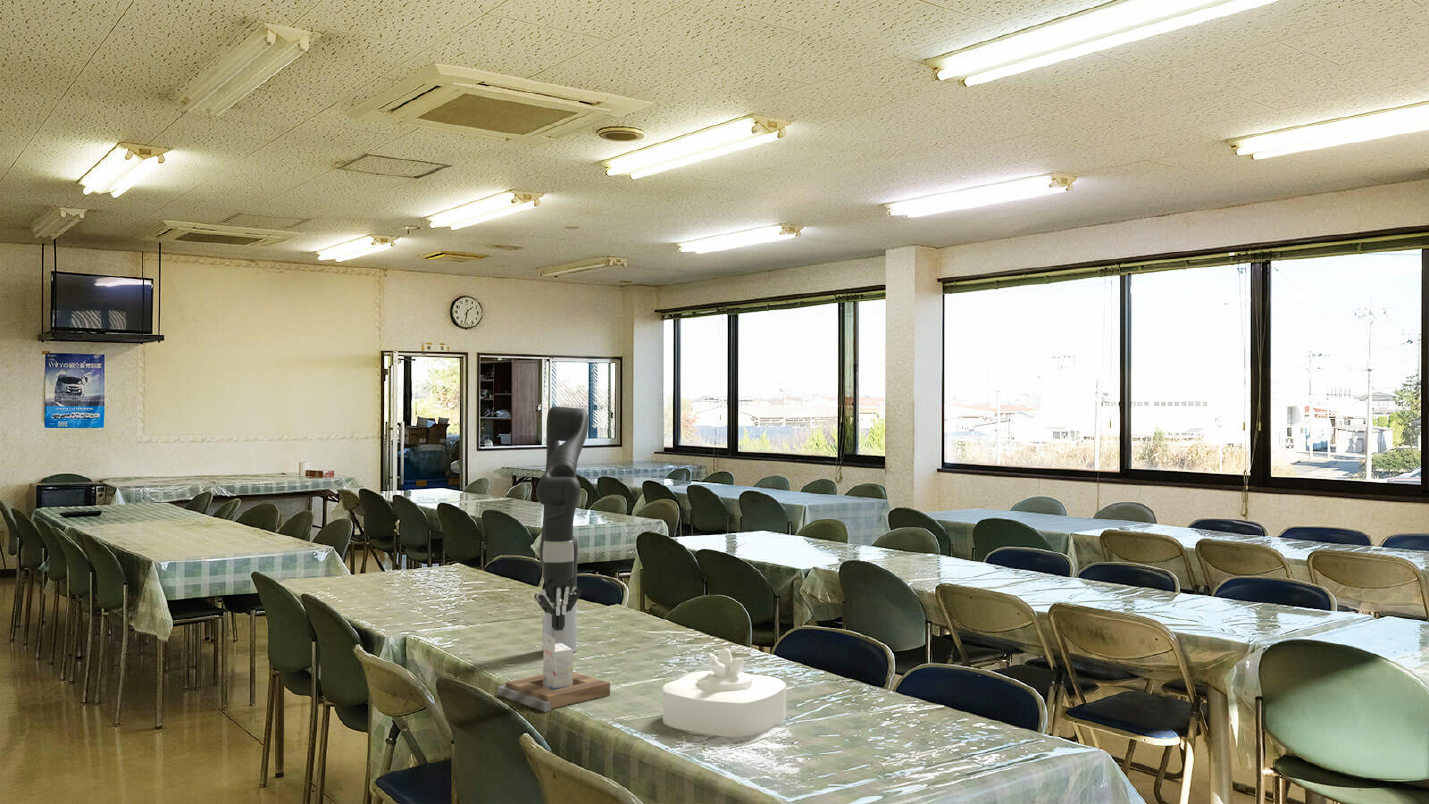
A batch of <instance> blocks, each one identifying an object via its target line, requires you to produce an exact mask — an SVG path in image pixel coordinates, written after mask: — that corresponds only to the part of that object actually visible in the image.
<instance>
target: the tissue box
mask: <svg viewBox="0 0 1429 804" xmlns="http://www.w3.org/2000/svg"><path fill="white" fill-rule="evenodd" d="M706 657H707V658H706V659H707V663H708V666H709V667H710V669H711V670H704V671H703V670H702V671H695V672H690V673H688V674H686V675H684V676H681V677H680V678H678V679H676V680H673V681H669V682H667V683H665V684H664V685H663V686H662V723H663V724H665V726H668V727H670V728H674V729H676V730H682V731H687V732H694V733H698V734H706V735H711V736H718V737H728V738H729V737H735V738H736V737H737V738H738V737H750V736H754V735H759V734H762V733H765V732H766V731H768V730H770V729H772V728H773V727H775V726H777V725H779V724H780V723H783V721H785V720H786V718H787V684H786V683H785V682H784V681H783V680H782V679H780V678H777V677H774V676H769V675H760V674H759V675H757V674H750V673H748V672H747V673H746V672H744V671H743V668H744V667H745V666H744V665H745V661H744V659H743V658H740V657H736V658H734V659H733V655H732V653H731V650H730V649H729V648H727V647H726V646H725V647H723V648H722V649H720V650H719V653H718V656H716V655H715V654H713V653H711V652H708V653H707V656H706Z"/></svg>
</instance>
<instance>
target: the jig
mask: <svg viewBox="0 0 1429 804" xmlns="http://www.w3.org/2000/svg"><path fill="white" fill-rule="evenodd" d="M497 695H498V696H500V697H503V698H506V699H508V700H510V701H513V702H517V703H519V704H522V705H525V706H527V707H530V708H533V709H536V710H539V711H542V712H544V713H546V712H547V713H548V712H551V711H552V710H553V709H556V708H562V707H565V705H566V706H569V705H568V704H570V705H574V704H573V703H575V702H579V703H583V702H586V701H587V700H588V701H591V700H590V699H592V700H594V698H596V699H599V698H598V697H600V698H604V697H603V696H605V697H608V696H607V695H609V696H611V682H609V681H606V680H605V681H604V680H602V679H599V678H596V677H592V676H589V675H585V674H581V673H578V672H576V671H575V672H574V671H573V686H569V687H565V688H560V689H556V690H551V689H548V688H545V687H543V674H537V675H534V676H530V677H525V678H519V679H514V680H509V681H506V682H505V685H500V686H497ZM571 703H572V704H571ZM575 704H576V703H575Z"/></svg>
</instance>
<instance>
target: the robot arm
mask: <svg viewBox="0 0 1429 804" xmlns="http://www.w3.org/2000/svg"><path fill="white" fill-rule="evenodd" d="M588 429H589V414H588V412H587V411H586V410H585V409H583V408H578V407H569V406H551V407H550V408H549V410H548V412H547V417H546V433H545V434H546V460H545V461H546V462H545V472H544V473H543V474H542V476H541V477H540V479H539V480H538V483H537V486H536V489H535V491H536V492H535V495H536V498H537V501H538V502H539V503H540V504H541V505H543V516H542V517H543V518H542V527H541V535H540V544H539V553H538V554H539V563H540V565H541V566H542V579H543V583H542V587H541V588H542V589H541V591H539V593H535V594H534V599H535V600H536V602H537V603H538V604H539V606H540V607H541V608H542V611H544V615H543V617H542V647H543V646H544V633H546V634H548V635H550V636H552V637H554V638H555V644H558V643H562V644H564V645H565V646H567V647H569V648H571V649H573V653H575V652H577V648H578V647H577V644H578V643H577V642H578V641H577V640H578V639H577V637H578V634H577V633H578V628H577V627H578V623H577V622H578V600H579V598H580V596H581V595H582V589H579V588H578V585H577V584H578V581H577V580H578V560H579V542H578V539H577V537H576V536H575V535H574V518H575V513H576V510H577V505H578V502H579V499H580V496H581V484H580V481H579V480H578V477H577V475H576V474H577V467H578V461H579V457H580V456H581V455H580V454H581V452H582V450H583V447H584V444H585V442H586V439H587V436H588V431H589V430H588ZM560 442H562V443H561V444H560ZM547 641H548V642H549V643H551V641H550V640H547Z"/></svg>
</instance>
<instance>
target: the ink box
mask: <svg viewBox="0 0 1429 804" xmlns="http://www.w3.org/2000/svg"><path fill="white" fill-rule="evenodd" d="M547 640H550V641H551V643H549V642H548V641H547ZM542 650H543V658H542V661H543V662H542V664H543V666H542V669H543V670H542V671H543V674H542V675H543V687H545V688H548V689H551V690H556V689H560V688H565V687H569V686H573V672H574V671H573V670H574V664H573V663H574V660H573V659H574V657H573V656H574V652H573V649H571V648H569V647H567V646H565V645H564V644H562V643H558V644H555V638H554V637H552V636H550V635H548V634H546V633H544V646H543V645H542Z"/></svg>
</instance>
